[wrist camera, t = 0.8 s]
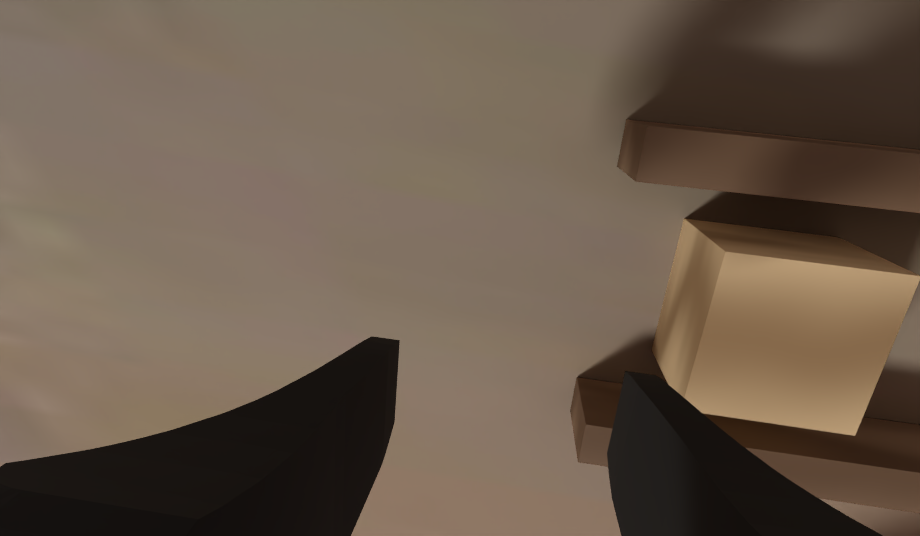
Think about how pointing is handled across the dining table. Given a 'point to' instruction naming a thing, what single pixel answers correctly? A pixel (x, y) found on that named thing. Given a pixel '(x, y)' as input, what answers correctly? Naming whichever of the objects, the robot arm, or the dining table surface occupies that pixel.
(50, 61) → the dining table surface
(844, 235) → the dining table surface
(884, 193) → the walnut channel
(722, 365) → the oak block
